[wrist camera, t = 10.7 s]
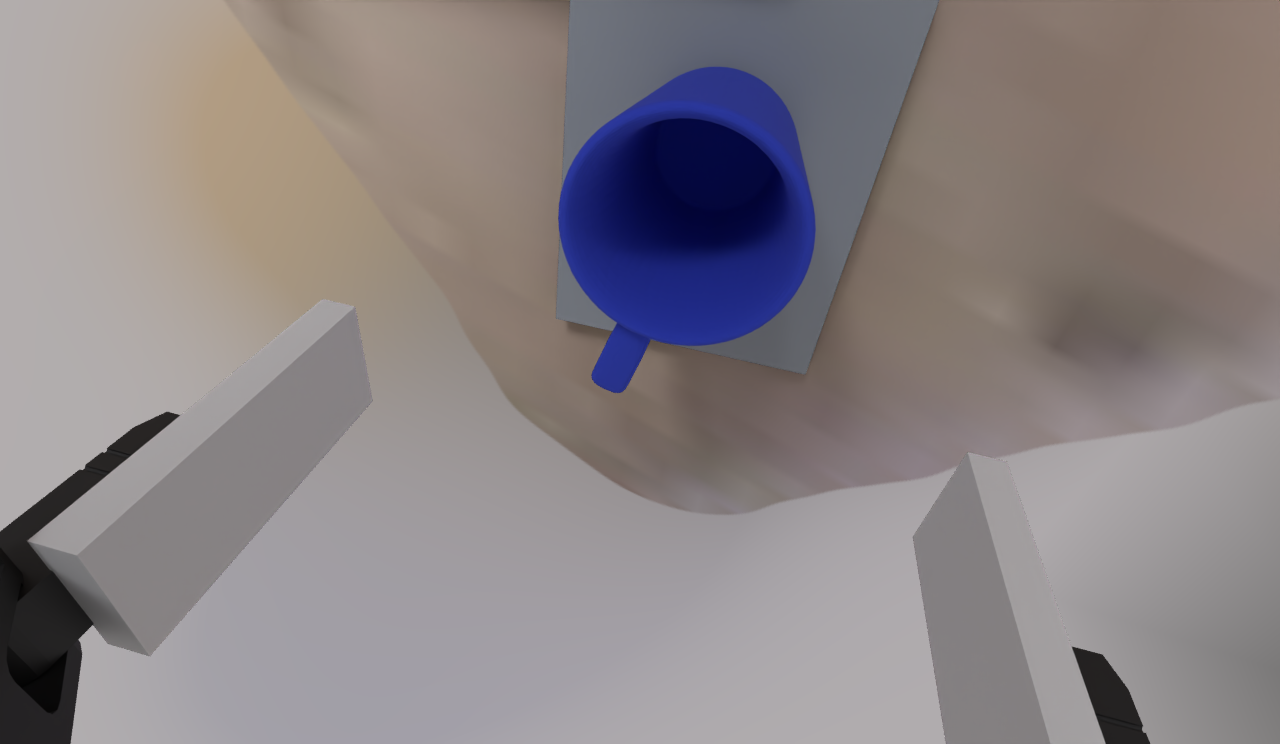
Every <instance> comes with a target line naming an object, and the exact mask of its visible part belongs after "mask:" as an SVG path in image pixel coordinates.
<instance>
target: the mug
mask: <svg viewBox="0 0 1280 744" xmlns="http://www.w3.org/2000/svg"><path fill="white" fill-rule="evenodd" d="M558 219H559V232H560V239H561V243H562V248H563V251H564V254H565V257H566V260H567V263H568V265H569V267H570V269H571V272H572V274H573V275H574V277H575V279H576V281H577V282H578V284H579V285H580V287H581V288H582V290H583V291H584V292H585V294H586V295H587V296H588V297H589V299H590V300H591V301H592V302H593V303H594V304H595V305H596V306H597V307H598V308H599V309H600V310H601V311H602V312H603V313H605V314H606V315H607V316H608V317H609V318H611V319H612V320H614V321H615V322H617V324H616V326H615V328H614V330H613V331H612V333H611V335H610V337H609V339H608V341H607V343H606V345H605V347H604V349H603V351H602V353H601V355H600V357H599V359H598V361H597V363H596V365H595V368H594V370H593V372H592V380H593V381H594V383H596V384H597V385H598V386H600V387H602V388H604V389H606V390H609V391H611V392H614V393H621V392H623V391H624V390H625V389H626V387H627V385H628V384H629V382H630V380H631V378H632V376H633V374H634V372H635V371H636V369H637V367H638V365H639V363H640V361H641V359H642V357H643V355H644V353H645V350H646V348H647V346H648V344H649V342H650V340H651V339H652V340H655V341H659V342H663V343H668V344H674V345H684V346H703V345H712V344H718V343H723V342H727V341H730V340H733V339H736V338H739V337H742V336H744V335H746V334H749V333H751V332H753V331H754V330H756V329H758V328H760V327H761V326H763V325H764V324H766V323H767V322H768V321H770V320H771V319H772V318H773V317H775V316H776V315H777V314H778V313H779V312H780V311H781V310H782V309H783V308H784V307H785V306H786V305H787V304H788V303H789V301H790V300H791V299H792V298H793V296H794V295H795V294H796V292H797V290H798V289H799V287H800V285H801V284H802V282H803V280H804V278H805V275H806V273H807V271H808V268H809V265H810V262H811V259H812V254H813V250H814V243H815V232H816V223H815V212H814V206H813V201H812V196H811V192H810V188H809V184H808V179H807V175H806V171H805V166H804V162H803V158H802V153H801V149H800V145H799V140H798V136H797V132H796V128H795V125H794V122H793V119H792V117H791V115H790V112H789V111H788V109H787V107H786V105H785V104H784V102H783V101H782V99H781V98H780V97H779V96H778V94H777V93H776V92H775V91H774V90H773V89H772V88H771V87H770V86H768V85H767V84H766V83H765V82H763V81H762V80H760V79H759V78H757V77H755V76H753V75H751V74H749V73H747V72H744V71H741V70H738V69H734V68H729V67H705V68H699V69H695V70H692V71H689V72H686V73H684V74H682V75H679V76H677V77H676V78H674V79H672V80H671V81H669V82H667V83H666V84H664V85H663V86H661V87H660V88H658V89H657V90H655V91H654V92H652V93H651V94H649V95H648V96H646V97H645V98H643V99H642V100H640V101H639V102H637V103H636V104H634V105H633V106H631V107H630V108H628V109H627V110H625V111H624V112H622V113H621V114H619V115H618V116H616V117H615V118H613V119H612V120H610V121H609V122H607V123H606V124H605V125H603V126H602V127H601V128H600V129H599V130H597V131H596V132H595V133H594V134H593V135H592V136H591V137H590V138H589V139H588V141H587V142H586V143H585V144H584V145H583V147H582V148H581V149H580V151H579V152H578V154H577V155H576V157H575V158H574V160H573V162H572V164H571V166H570V168H569V170H568V172H567V175H566V178H565V180H564V184H563V187H562V191H561V196H560V202H559V217H558Z"/></svg>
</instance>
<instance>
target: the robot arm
mask: <svg viewBox="0 0 1280 744" xmlns="http://www.w3.org/2000/svg"><path fill="white" fill-rule="evenodd" d="M371 402H372V395H371V390H370V384H369V379H368V374H367V368H366V363H365V357H364V352H363V346H362V341H361V336H360V331H359V325H358V319H357V314H356V308H355V307H354V306H351V305H346V304H342V303H337V302H334V301H329V300H325V299H322V300H321V301H319V302H318V303H317V304H316V305H315V306H313V307H312V308H311V309H310V310H309V311H307V312H306V313H305V314H304V315H302V316H301V317H300V318H299V319H298V320H297V321H295V322H294V323H293V324H291V325H290V326H289V327H288V328H287V329H285V330H284V331H283V332H282V333H280V334H279V335H278V336H277V337H276V338H274V339H273V340H272V341H271V342H270V343H268V344H267V345H266V346H265V347H263V348H262V349H261V350H260V351H258V352H257V353H256V354H255V355H254V356H252V357H251V358H250V359H249V360H247V361H246V362H245V363H244V364H243V365H241V366H240V367H239V368H238V369H237V370H235V371H234V372H233V373H232V374H230V375H229V376H228V377H227V378H225V379H224V380H223V381H222V382H221V383H219V384H218V385H217V386H216V387H214V388H213V389H212V390H211V391H210V392H208V393H207V394H206V395H205V396H203V397H202V398H201V399H200V400H199V401H197V402H196V403H195V404H194V405H193V406H191V407H190V408H189V409H188V410H186V411H185V412H184V413H183V414H181V415H178V414H174V413H170V412H165V413H164V414H161V415H159V416H157V417H155V418H153V419H151V420H148V421H146V422H144V423H142V424H140V425H138V426H136V427H134V428H132V429H131V430H130V431H128V432H127V433H126V434H125V435H123V436H122V437H121V438H120V439H118V440H117V441H116V442H115V443H113V444H112V445H110V446H109V447H108V448H107V451H106V452H105V453H103V452H102V453H100V454H99V455H98V456H96V457H95V458H94V459H93V460H91V461H90V462H89V463H87V464H86V466H85V469H84V470H78V471H77V472H76V473H75V474H73V475H72V476H71V477H69V478H68V479H67V480H66V481H64V482H63V483H62V484H61V485H59V486H58V487H57V488H55V489H54V490H53V491H52V492H50V493H49V494H48V495H46V496H45V497H44V498H43V499H41V500H40V501H39V502H37V503H36V504H35V505H34V506H32V507H31V508H30V509H28V510H27V511H26V512H25V513H23V514H22V515H21V516H20V517H18V518H17V519H16V520H14V521H13V522H12V523H11V524H9V525H8V526H7V527H6V528H4V529H3V530H2V531H1V532H0V744H70V743H71V736H72V728H73V720H74V713H75V704H76V698H77V690H78V682H79V674H80V667H81V660H82V650H81V644H80V642H79V640H78V639H79V638H80V637H81V636H82V635H83V634H84V633H85V632H86V631H87V630H88V629H89V628H90V627H91V626H92V625H93V626H94V627H95V628H96V629H97V631H98V632H99V633H100V634H101V636H102V637H103V638H104V640H105V641H106V642H107V643H108V644H111V645H114V646H117V647H121V648H124V649H127V650H131V651H134V652H137V653H141V654H144V655H147V656H150V655H151V654H152V653H153V652H154V651H155V650H156V648H157V647H158V646H159V645H160V644H161V643H162V642H163V641H164V640H165V638H166V637H167V636H168V635H169V634H170V633H171V632H172V630H173V629H174V628H175V627H176V626H177V625H178V623H179V622H180V621H181V620H182V619H183V618H184V617H185V615H186V614H187V613H188V612H189V611H190V610H191V609H192V607H193V606H194V605H195V604H196V603H197V602H198V601H199V599H200V598H201V597H202V596H203V595H204V594H205V593H206V591H207V590H208V589H209V588H210V587H211V586H212V585H213V583H214V582H215V581H216V580H217V579H218V578H219V576H220V575H221V574H222V573H223V572H224V571H225V570H226V568H227V567H228V566H229V565H230V564H231V563H232V562H233V560H234V559H235V558H236V557H237V556H238V555H239V553H240V552H241V551H242V550H243V549H244V548H245V547H246V546H247V544H248V543H249V542H250V541H251V540H252V539H253V537H254V536H255V535H256V534H257V533H258V532H259V531H260V529H261V528H262V527H263V526H264V525H265V524H266V523H267V522H268V520H269V519H270V518H271V517H272V516H273V515H274V513H275V512H276V511H277V510H278V509H279V508H280V507H281V505H282V504H283V503H284V502H285V501H286V500H287V499H288V497H289V496H290V495H291V494H292V493H293V492H294V490H295V489H296V488H297V487H298V486H299V485H300V484H301V483H302V481H303V480H304V479H305V478H306V477H307V476H308V475H309V473H310V472H311V471H312V470H313V469H314V467H316V465H317V464H318V463H319V462H320V461H321V459H322V458H323V457H324V456H325V455H326V454H327V453H328V452H329V450H330V449H331V448H332V447H333V446H334V445H335V444H336V442H337V441H338V440H339V439H340V438H341V437H342V436H343V434H344V433H345V432H346V431H347V430H348V429H349V428H350V426H351V425H352V424H353V423H354V422H355V421H356V420H357V418H358V417H359V416H360V415H361V414H362V413H363V411H364V410H365V409H366V408H367V407H368V406H369V405H370V403H371ZM913 541H914V548H915V554H916V560H917V566H918V572H919V579H920V585H921V591H922V597H923V603H924V610H925V616H926V622H927V629H928V635H929V641H930V648H931V654H932V660H933V666H934V672H935V679H936V685H937V691H938V697H939V703H940V710H941V716H942V722H943V729H944V735H945V741H946V744H1150V742H1149V740H1148V737H1147V735H1146V733H1143V731H1142V726H1143V725H1142V722H1141V720H1140V717H1139V715H1138V712H1137V710H1136V708H1135V705H1134V702H1133V700H1132V698H1131V695H1130V692H1129V690H1128V689H1127V687H1126V686H1125V684H1124V683H1123V682H1122V680H1121V679H1120V678H1119V676H1118V675H1117V674H1116V672H1115V671H1114V670H1113V668H1112V667H1111V665H1110V664H1109V663H1108V661H1107V660H1106V659H1105V657H1104V656H1103V655H1102V654H1098V653H1094V652H1090V651H1087V650H1083V649H1079V648H1075V647H1072V646H1071V644H1070V640H1069V638H1068V635H1067V632H1066V629H1065V626H1064V623H1063V620H1062V618H1061V615H1060V612H1059V609H1058V606H1057V603H1056V600H1055V597H1054V595H1053V592H1052V589H1051V586H1050V583H1049V580H1048V577H1047V575H1046V572H1045V569H1044V566H1043V563H1042V560H1041V558H1040V555H1039V552H1038V549H1037V546H1036V543H1035V540H1034V537H1033V534H1032V532H1031V529H1030V526H1029V523H1028V520H1027V517H1026V515H1025V512H1024V509H1023V506H1022V503H1021V500H1020V497H1019V494H1018V492H1017V489H1016V486H1015V483H1014V480H1013V477H1012V474H1011V472H1010V469H1009V466H1008V463H1007V461H1003V460H999V459H995V458H991V457H987V456H982V455H978V454H974V453H970V452H967V454H966V455H965V457H964V458H963V460H962V461H961V463H960V465H959V466H958V468H957V469H956V471H955V472H954V474H953V475H952V477H951V478H950V480H949V482H948V483H947V485H946V486H945V488H944V489H943V491H942V492H941V494H940V496H939V497H938V499H937V500H936V502H935V503H934V505H933V506H932V508H931V510H930V511H929V513H928V514H927V516H926V517H925V519H924V521H923V522H922V524H921V525H920V527H919V528H918V530H917V531H916V533H915V535H914V536H913Z"/></svg>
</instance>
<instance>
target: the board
mask: <svg viewBox="0 0 1280 744" xmlns="http://www.w3.org/2000/svg"><path fill="white" fill-rule="evenodd" d="M938 3H939V0H570V12H569V34H568V57H567V79H566V102H565V124H564V147H563V170H562V187H563V184H564V180H565V178H566V175H567V172H568V170H569V168H570V166H571V164H572V162H573V160H574V158H575V157H576V155H577V154H578V152H579V151H580V149H581V148H582V147H583V145H584V144H585V143H586V142H587V141H588V139H589V138H590V137H591V136H592V135H593V134H594V133H595V132H596V131H597V130H599V129H600V128H601V127H602V126H603V125H605V124H606V123H607V122H609V121H610V120H612V119H613V118H615V117H616V116H618V115H619V114H621V113H622V112H624V111H625V110H627V109H628V108H630V107H631V106H633V105H634V104H636V103H637V102H639V101H640V100H642V99H643V98H645V97H646V96H648V95H649V94H651V93H652V92H654V91H655V90H657V89H658V88H660V87H661V86H663V85H664V84H666V83H667V82H669V81H671V80H672V79H674V78H676V77H677V76H679V75H682V74H684V73H686V72H689V71H692V70H695V69H699V68H705V67H729V68H734V69H738V70H741V71H744V72H747V73H749V74H751V75H753V76H755V77H757V78H759V79H760V80H762V81H763V82H765V83H766V84H767V85H768V86H770V87H771V88H772V89H773V90H774V91H775V92H776V93H777V94H778V96H779V97H780V98H781V99H782V101H783V102H784V104H785V105H786V107H787V109H788V111H789V112H790V115H791V117H792V119H793V122H794V125H795V128H796V132H797V136H798V140H799V145H800V149H801V153H802V158H803V162H804V166H805V171H806V175H807V179H808V184H809V188H810V192H811V196H812V201H813V206H814V212H815V223H816V232H815V243H814V250H813V254H812V259H811V262H810V265H809V268H808V271H807V273H806V275H805V278H804V280H803V282H802V284H801V285H800V287H799V289H798V290H797V292H796V294H795V295H794V296H793V298H792V299H791V300H790V301H789V303H788V304H787V305H786V306H785V307H784V308H783V309H782V310H781V311H780V312H779V313H778V314H777V315H776V316H775V317H773V318H772V319H771V320H770V321H768V322H767V323H766V324H764V325H763V326H761V327H760V328H758V329H756V330H754V331H753V332H751V333H749V334H746V335H744V336H742V337H739V338H736V339H733V340H730V341H727V342H723V343H718V344H712V345H703V346H684V345H676V346H680V347H684V348H689V349H693V350H698V351H702V352H707V353H711V354H716V355H720V356H724V357H729V358H733V359H738V360H742V361H747V362H751V363H756V364H760V365H764V366H769V367H773V368H778V369H782V370H787V371H791V372H796V373H800V374H804V375H805V374H806V372H807V369H808V366H809V363H810V360H811V358H812V355H813V352H814V349H815V346H816V344H817V341H818V338H819V335H820V332H821V330H822V327H823V324H824V321H825V319H826V316H827V313H828V310H829V307H830V305H831V302H832V299H833V296H834V293H835V291H836V288H837V285H838V282H839V279H840V277H841V274H842V271H843V268H844V265H845V263H846V260H847V257H848V254H849V251H850V249H851V246H852V243H853V240H854V237H855V235H856V232H857V229H858V226H859V223H860V221H861V218H862V215H863V212H864V209H865V207H866V204H867V201H868V198H869V195H870V193H871V190H872V187H873V184H874V182H875V179H876V176H877V173H878V170H879V168H880V165H881V162H882V159H883V156H884V154H885V151H886V148H887V145H888V142H889V140H890V137H891V134H892V131H893V128H894V126H895V123H896V120H897V117H898V114H899V112H900V109H901V106H902V103H903V100H904V98H905V95H906V92H907V89H908V86H909V84H910V81H911V78H912V75H913V72H914V70H915V67H916V64H917V61H918V58H919V56H920V53H921V50H922V47H923V45H924V42H925V39H926V36H927V33H928V31H929V28H930V25H931V22H932V19H933V17H934V14H935V11H936V8H937V5H938ZM556 319H560V320H564V321H569V322H573V323H578V324H582V325H587V326H591V327H596V328H600V329H604V330H609V331H613V330H614V328H615V326H616V324H617V322H615V321H614V320H612V319H611V318H609V317H608V316H607V315H606V314H605V313H603V312H602V311H601V310H600V309H599V308H598V307H597V306H596V305H595V304H594V303H593V302H592V301H591V300H590V299H589V297H588V296H587V295H586V294H585V292H584V291H583V290H582V288H581V287H580V285H579V284H578V282H577V281H576V279H575V277H574V275H573V274H572V272H571V269H570V267H569V265H568V263H567V260H566V257H565V254H564V251H563V248H562V243H561V239H560V237H559V260H558V282H557V305H556ZM651 340H652V339H651ZM653 341H655V340H653ZM658 342H659V341H658ZM662 343H663V342H662ZM667 344H668V343H667ZM671 345H674V344H671Z"/></svg>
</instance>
